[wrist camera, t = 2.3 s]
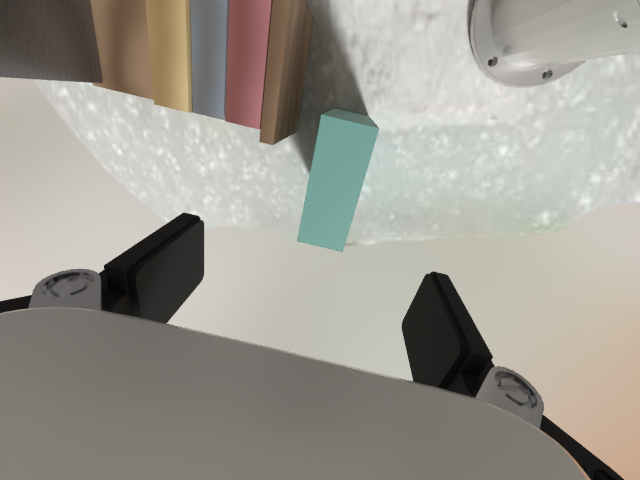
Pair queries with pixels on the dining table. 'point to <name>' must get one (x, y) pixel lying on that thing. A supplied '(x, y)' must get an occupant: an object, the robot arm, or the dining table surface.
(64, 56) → the bookend
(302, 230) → the loose book
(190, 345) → the robot arm
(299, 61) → the book rack
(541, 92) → the dining table surface
